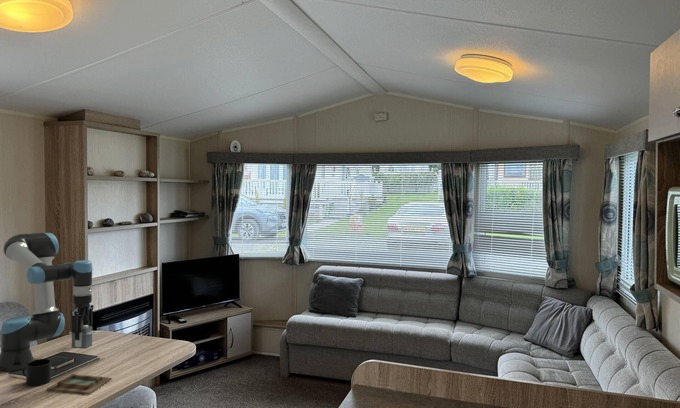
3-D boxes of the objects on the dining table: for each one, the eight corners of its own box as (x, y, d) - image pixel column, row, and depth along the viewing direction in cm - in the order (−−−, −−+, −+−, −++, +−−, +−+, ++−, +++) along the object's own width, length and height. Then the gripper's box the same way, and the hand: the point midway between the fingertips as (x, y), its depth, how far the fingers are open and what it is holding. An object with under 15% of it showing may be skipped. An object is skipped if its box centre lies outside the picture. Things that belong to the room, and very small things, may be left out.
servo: (68, 347, 217) (68, 326, 216) (74, 344, 221) (75, 323, 221) (89, 348, 216) (89, 327, 216) (95, 345, 220) (95, 324, 220)
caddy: (46, 390, 207) (46, 385, 206) (71, 376, 222) (71, 371, 222) (89, 394, 204) (89, 389, 204) (111, 379, 220) (111, 374, 220)
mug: (28, 377, 219) (29, 358, 219) (55, 378, 220) (55, 359, 219) (15, 386, 210) (15, 366, 210) (42, 386, 210) (43, 366, 210)
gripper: (78, 299, 209) (77, 351, 209) (101, 290, 226) (101, 339, 227) (62, 298, 209) (61, 350, 210) (86, 290, 227) (86, 338, 228)
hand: (82, 344), depth 218 cm, fingers closed on servo, 4 cm apart
